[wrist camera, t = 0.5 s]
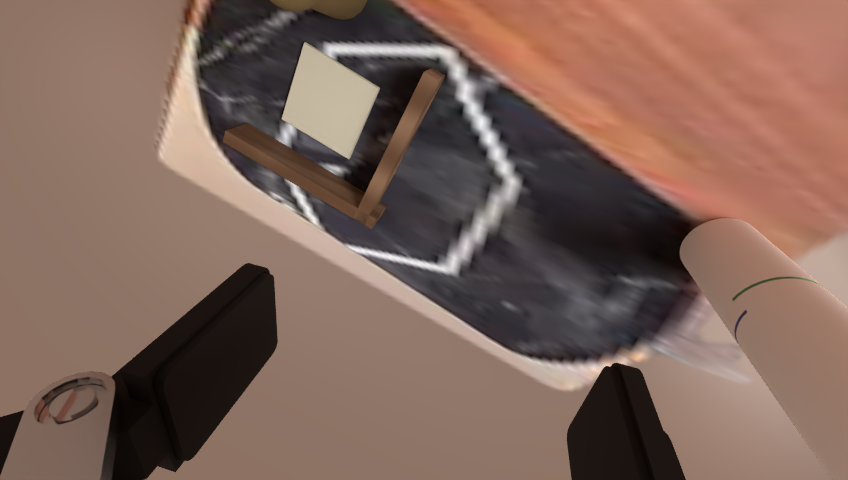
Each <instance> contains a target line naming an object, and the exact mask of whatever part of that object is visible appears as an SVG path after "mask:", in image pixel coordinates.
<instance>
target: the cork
mask: <svg viewBox="0 0 848 480" xmlns="http://www.w3.org/2000/svg"><path fill="white" fill-rule="evenodd" d="M270 1H271V2H272V3H273V4H275V5H276V6H278V7H280V8H282V9H284V10H287V11H296V12H300V11H303V10H306V9H309V8H311V9H313V10H315V11H318V12H320V13H323V14H325V15H327V16H330V17H332V18H335V19H340V20H347V19H351V18H354V17H355V16H356V15H358V14H359V13H360V12H361V11H362V9H363V8H364V6H365V5H366V3H367V0H270Z"/></svg>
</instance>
